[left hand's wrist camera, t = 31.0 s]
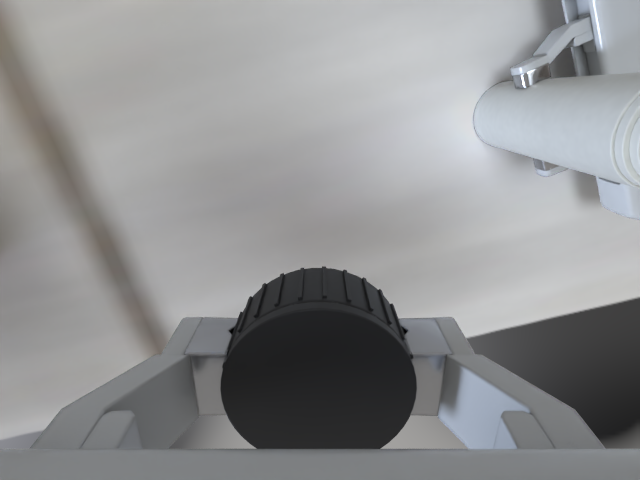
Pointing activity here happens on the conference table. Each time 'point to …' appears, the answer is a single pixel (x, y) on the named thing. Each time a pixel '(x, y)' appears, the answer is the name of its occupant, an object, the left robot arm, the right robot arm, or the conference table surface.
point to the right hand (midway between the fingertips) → (527, 124)
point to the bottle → (569, 123)
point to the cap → (318, 365)
